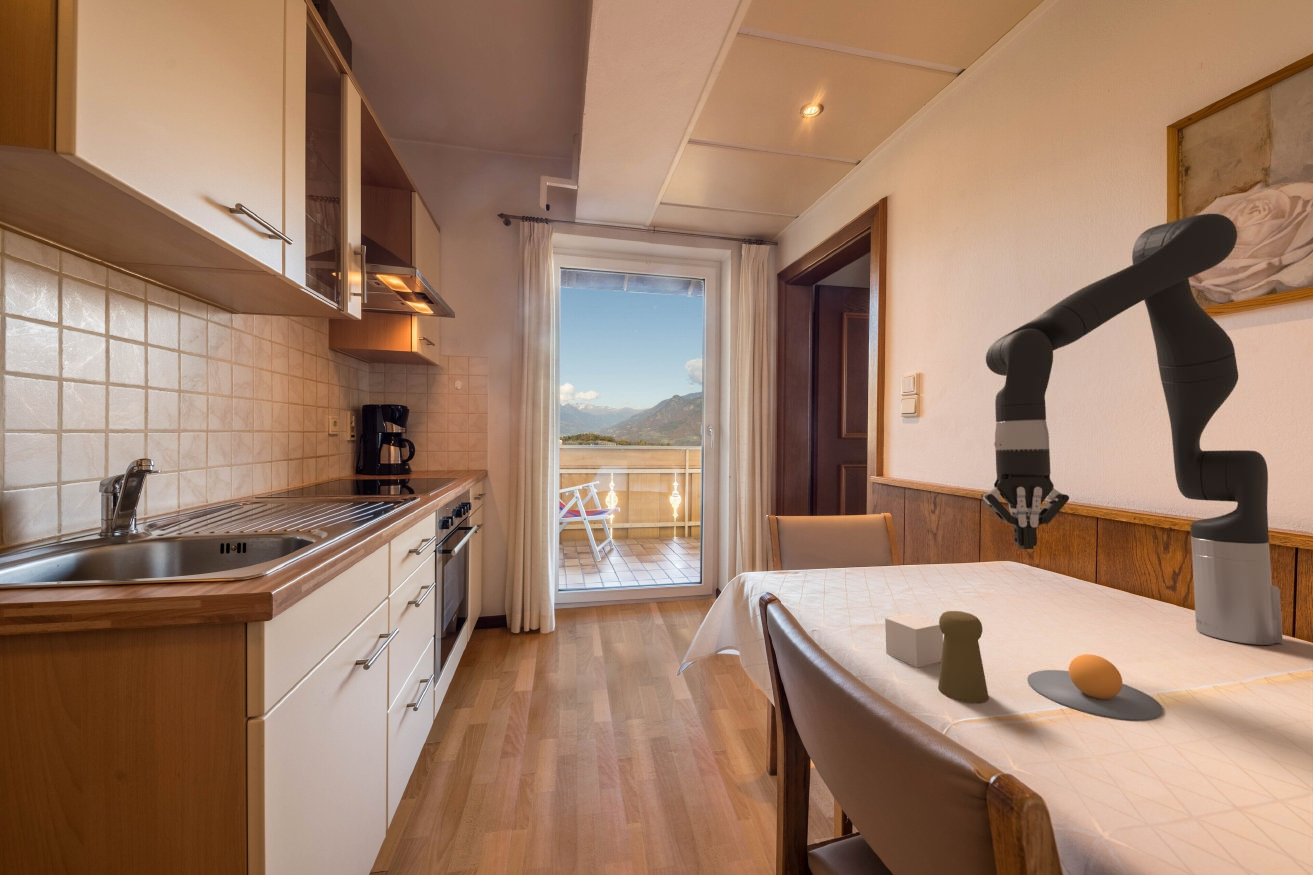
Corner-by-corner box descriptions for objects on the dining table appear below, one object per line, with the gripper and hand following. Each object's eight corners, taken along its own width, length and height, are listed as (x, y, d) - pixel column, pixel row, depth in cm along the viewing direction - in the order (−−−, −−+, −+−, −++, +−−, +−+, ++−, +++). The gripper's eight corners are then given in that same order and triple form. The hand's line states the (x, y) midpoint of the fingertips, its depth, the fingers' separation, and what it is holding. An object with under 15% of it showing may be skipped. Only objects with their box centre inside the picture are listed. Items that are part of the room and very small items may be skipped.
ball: (1100, 673, 70) (1106, 644, 68) (1129, 707, 65) (1136, 677, 63) (1057, 674, 71) (1061, 646, 69) (1082, 708, 66) (1088, 679, 64)
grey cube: (886, 654, 83) (884, 617, 83) (912, 648, 85) (910, 613, 86) (917, 667, 77) (915, 629, 78) (944, 661, 80) (942, 623, 80)
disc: (1115, 675, 74) (1115, 674, 74) (1194, 725, 60) (1194, 723, 60) (1009, 667, 77) (1009, 666, 77) (1061, 714, 63) (1061, 712, 63)
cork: (997, 705, 65) (993, 621, 66) (947, 701, 67) (944, 619, 67) (977, 684, 71) (974, 607, 72) (931, 681, 73) (929, 605, 73)
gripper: (988, 448, 83) (992, 551, 82) (1079, 446, 80) (1084, 553, 79) (970, 448, 90) (974, 543, 90) (1053, 447, 87) (1057, 545, 87)
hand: (1026, 548), depth 85 cm, fingers closed
